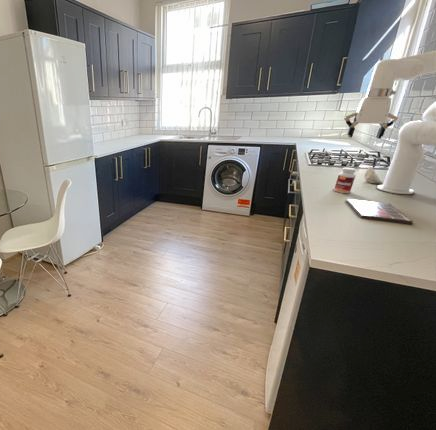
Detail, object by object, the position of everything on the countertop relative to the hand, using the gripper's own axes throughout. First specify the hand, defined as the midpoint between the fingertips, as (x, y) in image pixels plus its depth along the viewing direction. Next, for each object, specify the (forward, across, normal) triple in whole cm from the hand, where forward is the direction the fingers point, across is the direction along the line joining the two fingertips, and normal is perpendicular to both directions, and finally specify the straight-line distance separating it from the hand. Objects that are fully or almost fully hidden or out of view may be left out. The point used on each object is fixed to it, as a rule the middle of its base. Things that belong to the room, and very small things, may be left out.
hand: (363, 137), depth 120 cm
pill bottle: (+25, +1, -3) cm, 26 cm away
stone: (+25, -18, -29) cm, 43 cm away
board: (+25, -4, +24) cm, 35 cm away
